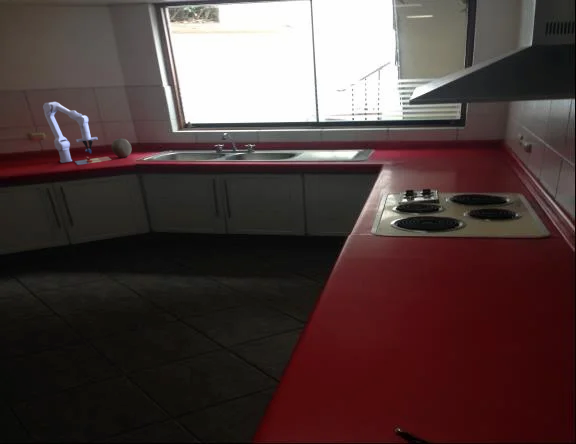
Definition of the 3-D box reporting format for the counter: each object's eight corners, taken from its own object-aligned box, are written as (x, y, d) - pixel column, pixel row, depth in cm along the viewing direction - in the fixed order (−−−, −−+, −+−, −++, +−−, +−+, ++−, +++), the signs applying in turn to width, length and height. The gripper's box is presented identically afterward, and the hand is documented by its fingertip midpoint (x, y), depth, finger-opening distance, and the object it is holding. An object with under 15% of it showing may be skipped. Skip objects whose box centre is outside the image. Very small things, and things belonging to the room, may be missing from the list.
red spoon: (85, 160, 320) (84, 157, 319) (90, 159, 322) (89, 156, 321) (87, 162, 311) (86, 159, 310) (93, 162, 313) (92, 158, 312)
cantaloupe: (114, 157, 329) (110, 138, 323) (133, 155, 332) (129, 136, 327) (113, 160, 316) (109, 141, 311) (132, 158, 320) (129, 139, 314)
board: (74, 161, 319) (74, 161, 319) (107, 156, 331) (107, 156, 331) (77, 165, 306) (77, 164, 306) (112, 160, 318) (111, 159, 318)
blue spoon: (93, 152, 313) (92, 149, 312) (87, 153, 311) (87, 150, 310) (90, 150, 322) (90, 147, 321) (85, 151, 319) (84, 147, 319)
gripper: (75, 134, 302) (79, 152, 307) (96, 131, 310) (100, 149, 315) (74, 133, 308) (78, 151, 313) (95, 130, 315) (98, 148, 320)
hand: (89, 150), depth 314 cm, fingers closed on blue spoon
